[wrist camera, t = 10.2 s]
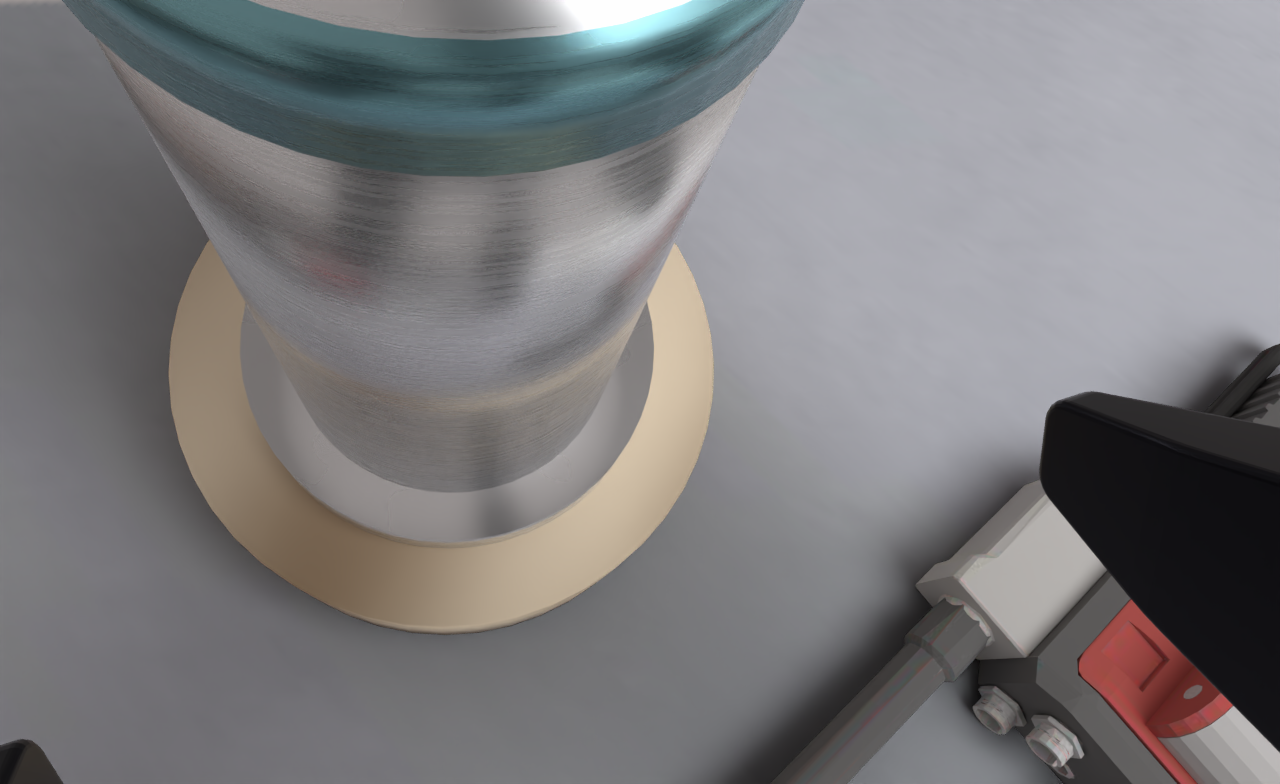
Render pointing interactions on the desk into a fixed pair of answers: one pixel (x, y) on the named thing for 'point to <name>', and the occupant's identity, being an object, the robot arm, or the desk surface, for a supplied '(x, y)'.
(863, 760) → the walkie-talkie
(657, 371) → the stand
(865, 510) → the desk surface
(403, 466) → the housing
